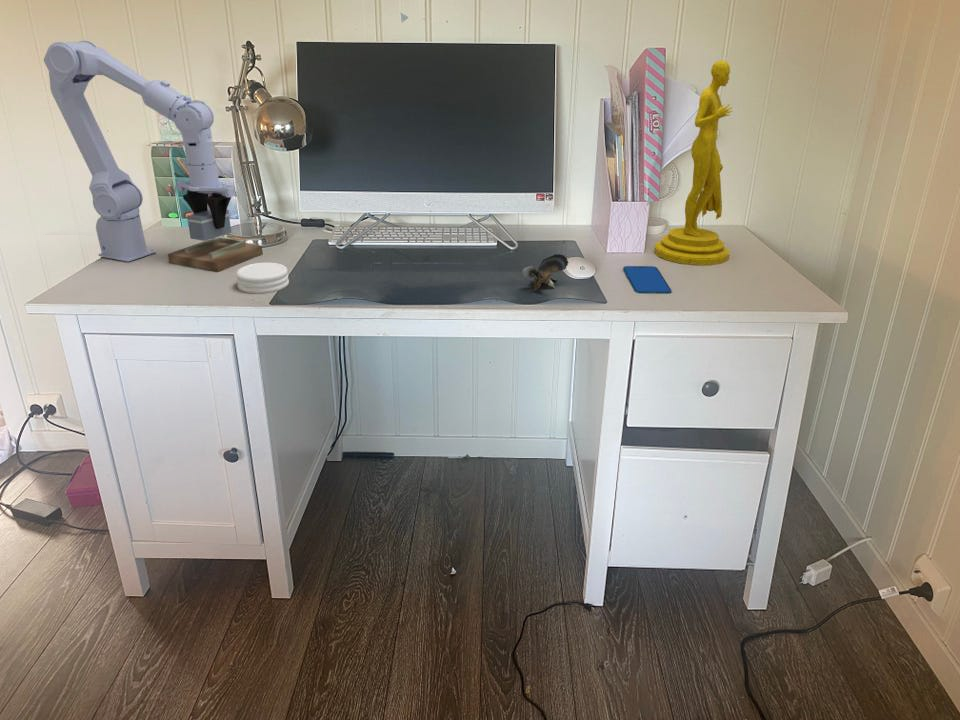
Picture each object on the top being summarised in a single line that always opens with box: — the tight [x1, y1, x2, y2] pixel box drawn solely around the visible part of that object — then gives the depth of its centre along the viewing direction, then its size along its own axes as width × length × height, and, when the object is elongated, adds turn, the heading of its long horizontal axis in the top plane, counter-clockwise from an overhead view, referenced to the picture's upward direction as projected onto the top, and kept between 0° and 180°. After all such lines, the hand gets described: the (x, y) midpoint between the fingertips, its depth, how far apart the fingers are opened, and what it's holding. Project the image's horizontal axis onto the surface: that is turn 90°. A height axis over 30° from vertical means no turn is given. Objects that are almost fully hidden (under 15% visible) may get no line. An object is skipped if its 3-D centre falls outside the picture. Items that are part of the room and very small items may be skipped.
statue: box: [653, 60, 733, 266], centre depth 154 cm, size 17×17×41 cm
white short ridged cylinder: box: [235, 262, 290, 294], centre depth 142 cm, size 10×10×4 cm
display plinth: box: [167, 236, 264, 273], centre depth 157 cm, size 14×14×3 cm
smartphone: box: [622, 265, 672, 295], centre depth 146 cm, size 7×1×15 cm
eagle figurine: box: [521, 253, 569, 292], centre depth 141 cm, size 8×7×9 cm
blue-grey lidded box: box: [186, 209, 232, 242], centre depth 154 cm, size 4×8×5 cm, turn 155°
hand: (212, 226), depth 154 cm, fingers closed on blue-grey lidded box, 4 cm apart
